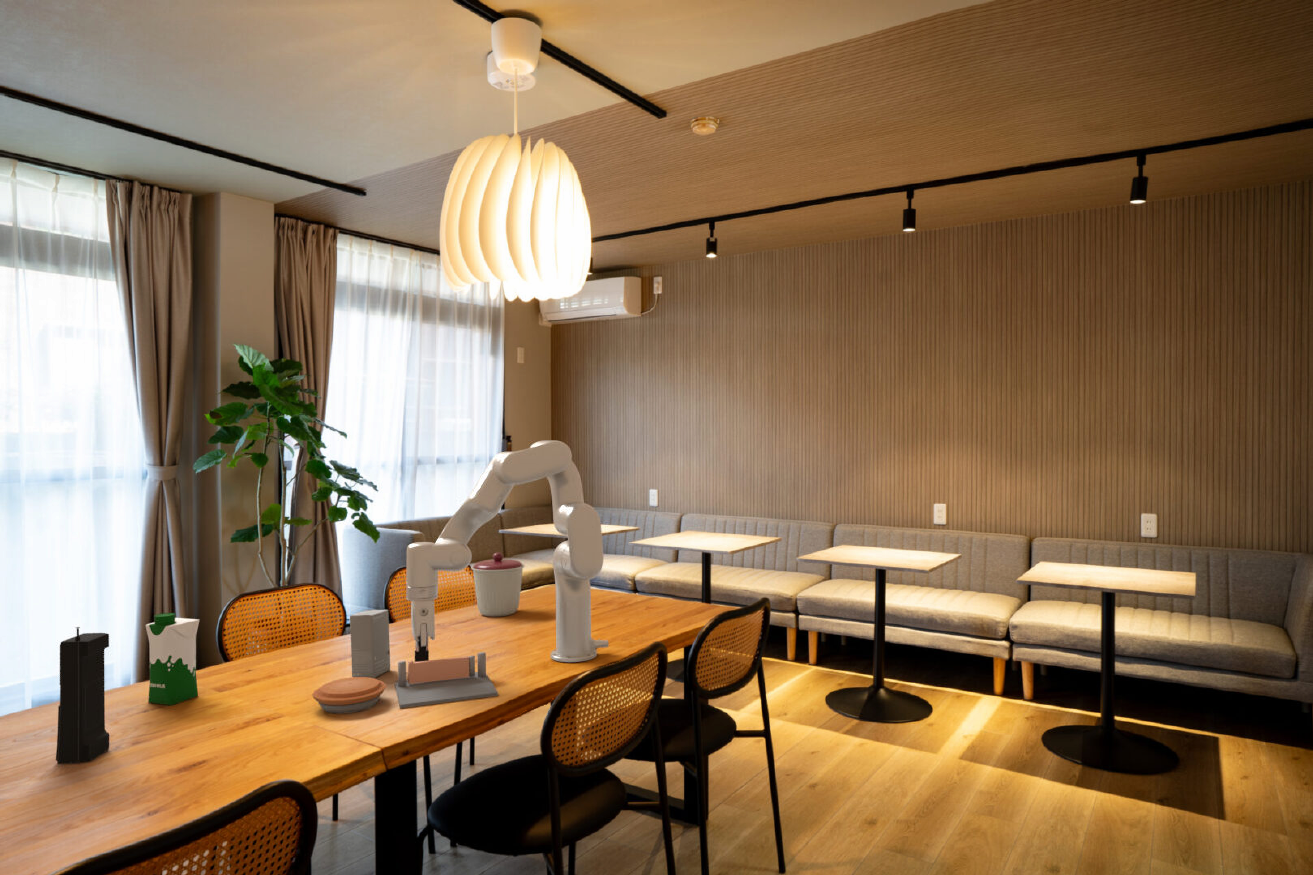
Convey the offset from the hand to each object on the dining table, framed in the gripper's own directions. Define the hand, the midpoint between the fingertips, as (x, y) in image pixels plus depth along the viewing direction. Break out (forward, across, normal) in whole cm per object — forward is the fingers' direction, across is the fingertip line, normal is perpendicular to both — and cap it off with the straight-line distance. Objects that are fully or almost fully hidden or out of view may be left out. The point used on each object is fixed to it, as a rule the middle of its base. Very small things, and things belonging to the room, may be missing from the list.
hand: (421, 666), depth 194 cm
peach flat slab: (+2, -6, -4) cm, 8 cm away
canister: (+3, +69, -32) cm, 76 cm away
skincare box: (+4, +11, +12) cm, 16 cm away
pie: (+4, -13, +16) cm, 21 cm away
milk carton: (+4, +8, +54) cm, 55 cm away
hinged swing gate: (+3, -11, -4) cm, 12 cm away
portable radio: (+5, -24, +64) cm, 68 cm away
